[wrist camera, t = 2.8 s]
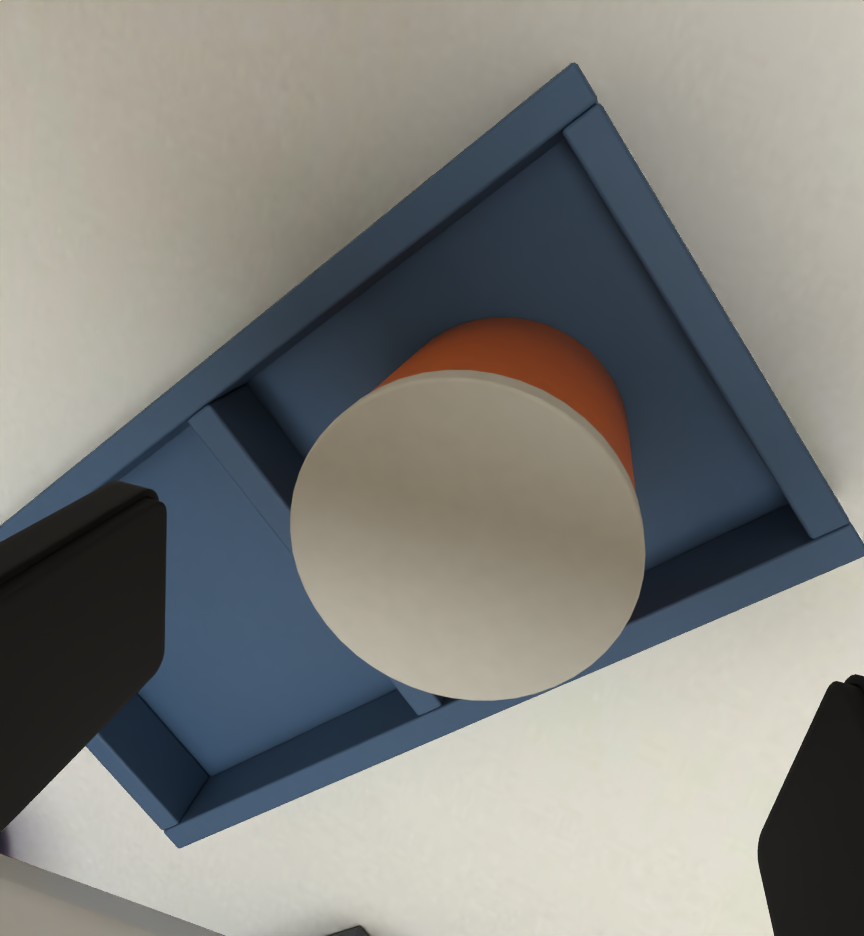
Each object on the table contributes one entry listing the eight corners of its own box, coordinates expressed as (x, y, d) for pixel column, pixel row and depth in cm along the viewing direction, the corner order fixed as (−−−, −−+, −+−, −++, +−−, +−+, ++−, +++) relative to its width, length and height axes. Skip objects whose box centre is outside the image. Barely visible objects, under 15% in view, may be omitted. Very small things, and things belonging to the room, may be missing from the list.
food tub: (338, 402, 18) (222, 496, 12) (539, 260, 16) (506, 299, 10) (472, 585, 19) (420, 745, 13) (679, 478, 17) (718, 618, 11)
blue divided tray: (2, 539, 23) (-67, 579, 20) (578, 80, 15) (574, 59, 12) (218, 787, 25) (178, 850, 22) (832, 503, 17) (870, 555, 14)
